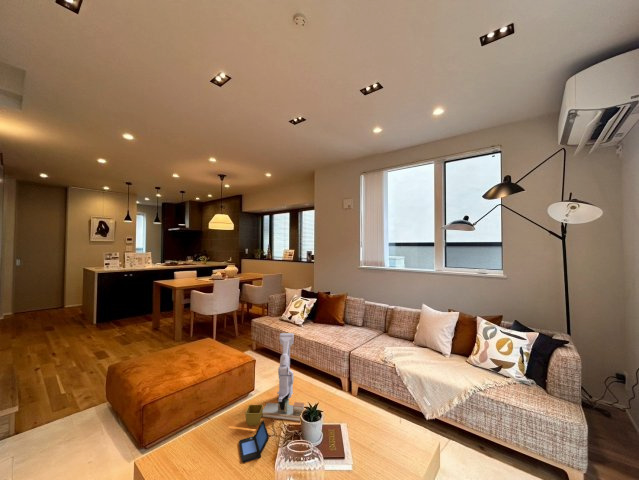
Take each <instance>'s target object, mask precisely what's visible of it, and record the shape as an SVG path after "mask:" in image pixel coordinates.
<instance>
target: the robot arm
mask: <svg viewBox="0 0 639 480" xmlns="http://www.w3.org/2000/svg"><path fill="white" fill-rule="evenodd" d="M294 335H295V334H294V332H292V333H291V332H290V333H288V332H287V333H286V332H285V333H283V332H280V334H279V343H280V345H281V346H282V354H281V355H280V360H279V366H278V370H277V375H278V385H279V386H278V391H277V395H278V397H277V403H278V402H279V404H280V408H281V410H284V408H285V402H286V399H289V400H290V399H291V398H292V395H293V394H295V393H294V392H293V391H294V389H293V388H294V387H293V384H294V372H293V370H291V369H290V368H291V367H290V366H291V346H292V345H294V339H295V338H294V337H295V336H294Z"/></svg>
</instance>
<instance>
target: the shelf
mask: <svg viewBox="0 0 639 480" xmlns="http://www.w3.org/2000/svg"><path fill="white" fill-rule="evenodd" d="M293 405H294V404H293ZM293 405H291V404H289V410H288V412H287V413H285V412H278V403H274V402H267V403H266V404H265V406H263V411H262V416H261V418H269V419H277V420H286V421H293V422H301V421H300V416H294V415H293Z"/></svg>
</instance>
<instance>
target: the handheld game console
mask: <svg viewBox="0 0 639 480" xmlns="http://www.w3.org/2000/svg"><path fill="white" fill-rule="evenodd" d="M269 438H270V436H269V433H268V430H267V426H266V424H265V421H264V420H261V421H260V423H259V425H258V428H257V430H256V432H255V434H254V435H252V436H250V437H249V436H248V437H245V438H241V439H239V441H238V445H239V451H240V452H239V453H240V459H241V462H242V463H247V462H250V461H254V460H257V459H260V458H262V454H263V451H264V450H265V447H266V445H267V443H268V441H269V440H270V439H269Z"/></svg>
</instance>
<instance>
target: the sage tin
mask: <svg viewBox="0 0 639 480" xmlns="http://www.w3.org/2000/svg"><path fill="white" fill-rule="evenodd" d="M277 404H278V412H285V413H287V412H288V410H289V405H290V398H289V399H286V402H285V408H284V410H281V408H280V404H279V402H278V401H277Z"/></svg>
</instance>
